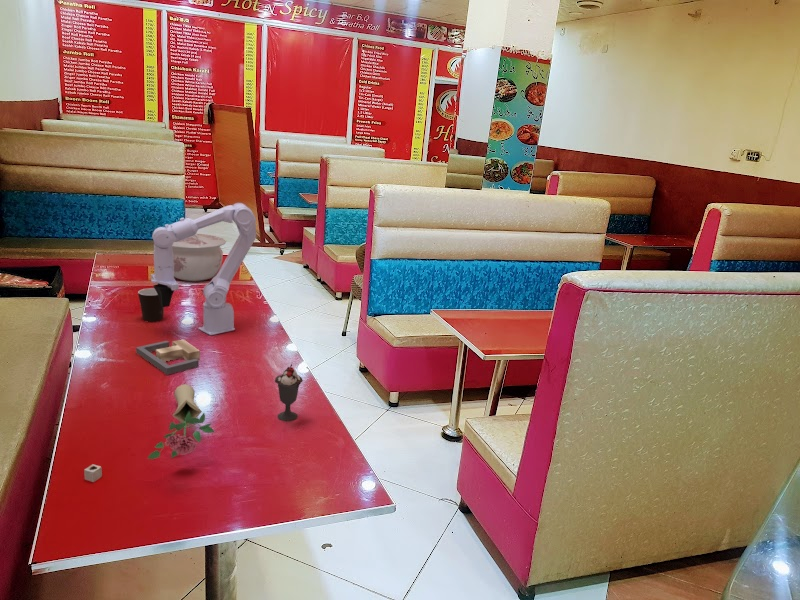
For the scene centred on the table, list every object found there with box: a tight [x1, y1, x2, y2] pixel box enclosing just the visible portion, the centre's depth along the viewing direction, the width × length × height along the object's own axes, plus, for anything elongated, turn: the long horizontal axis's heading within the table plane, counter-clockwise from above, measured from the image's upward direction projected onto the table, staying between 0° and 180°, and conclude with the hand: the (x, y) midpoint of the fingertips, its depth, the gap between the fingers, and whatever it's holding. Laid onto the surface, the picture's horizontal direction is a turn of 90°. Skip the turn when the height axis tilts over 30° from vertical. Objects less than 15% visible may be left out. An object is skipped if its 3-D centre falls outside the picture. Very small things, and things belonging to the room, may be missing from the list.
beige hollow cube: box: [83, 463, 103, 483], centre depth 112 cm, size 2×2×2 cm
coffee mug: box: [137, 287, 165, 323], centre depth 198 cm, size 12×9×10 cm
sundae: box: [274, 363, 304, 422], centre depth 139 cm, size 7×7×15 cm
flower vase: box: [146, 384, 215, 460], centre depth 127 cm, size 12×12×35 cm
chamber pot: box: [172, 233, 227, 282], centre depth 249 cm, size 28×28×21 cm
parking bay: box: [135, 340, 200, 376], centre depth 167 cm, size 10×19×2 cm, turn 48°
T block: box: [155, 339, 201, 363], centre depth 169 cm, size 10×11×3 cm
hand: (165, 306), depth 184 cm, fingers closed
